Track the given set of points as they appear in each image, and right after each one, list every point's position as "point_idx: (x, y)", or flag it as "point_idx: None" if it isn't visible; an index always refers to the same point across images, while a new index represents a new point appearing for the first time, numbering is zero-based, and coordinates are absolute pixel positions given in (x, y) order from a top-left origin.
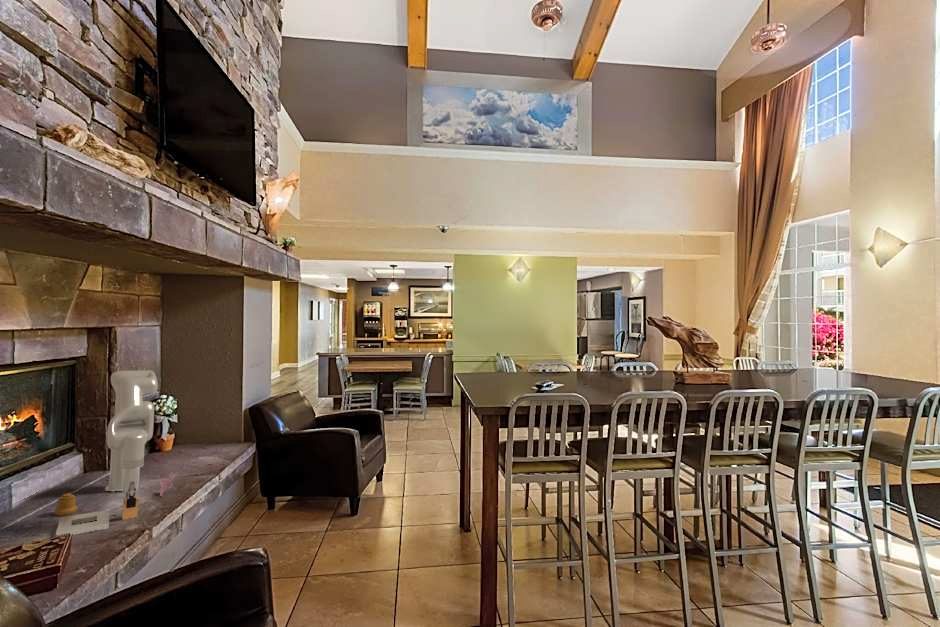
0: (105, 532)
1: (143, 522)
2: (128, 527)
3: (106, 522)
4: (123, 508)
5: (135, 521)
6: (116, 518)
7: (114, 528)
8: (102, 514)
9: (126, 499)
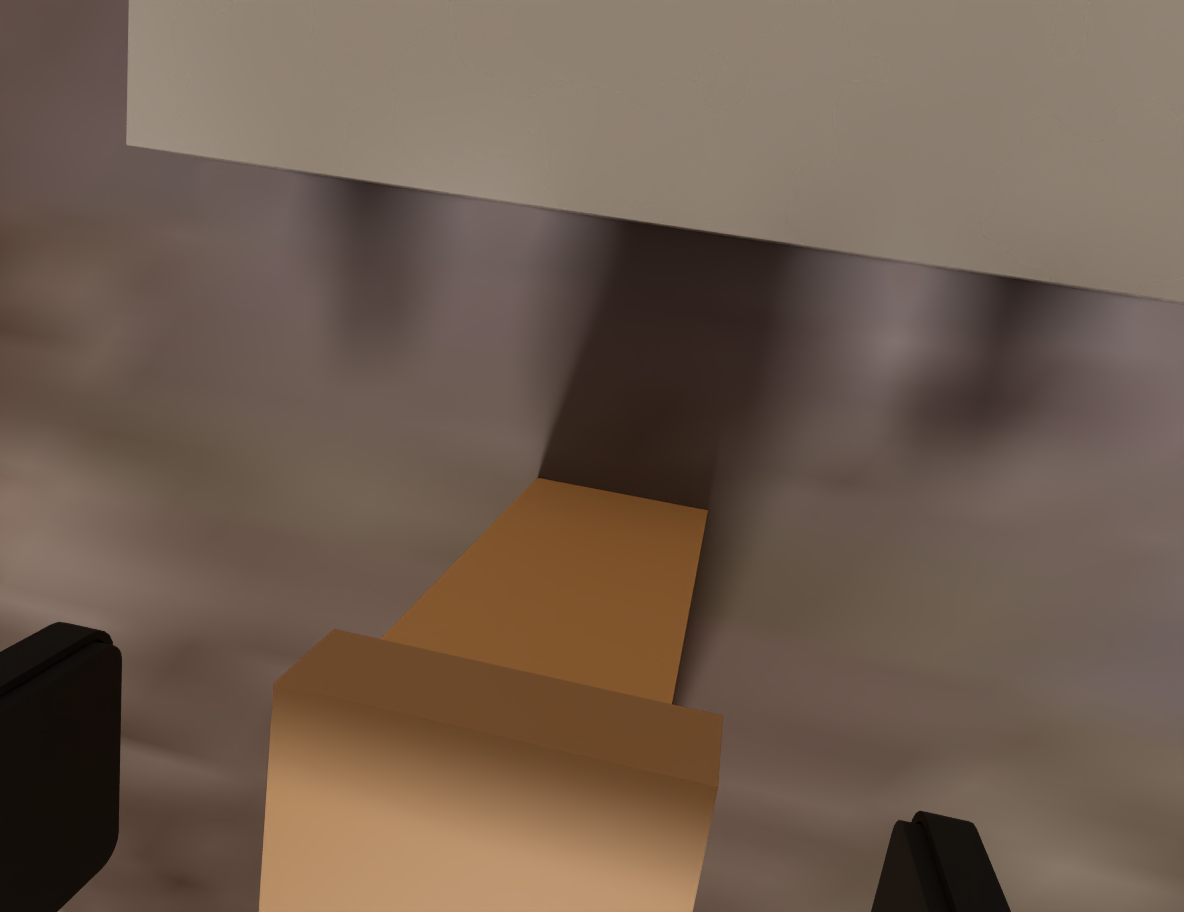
0: (17, 75)
1: (157, 739)
2: (52, 481)
3: (214, 99)
4: (446, 579)
5: (291, 650)
6: (735, 393)
7: (139, 258)
8: (949, 73)
9: (452, 823)
